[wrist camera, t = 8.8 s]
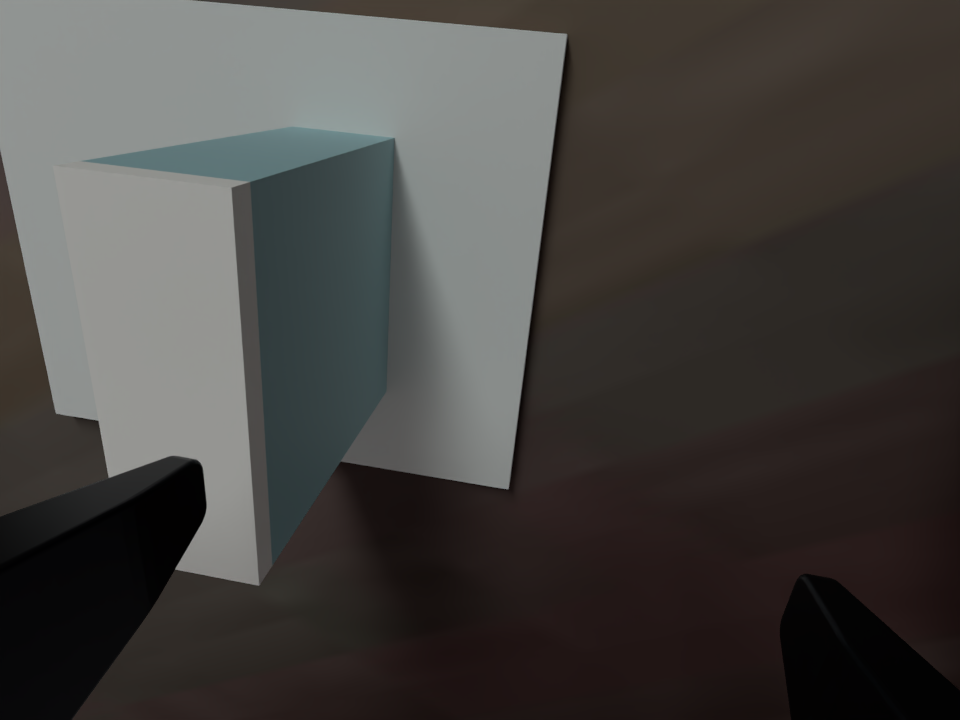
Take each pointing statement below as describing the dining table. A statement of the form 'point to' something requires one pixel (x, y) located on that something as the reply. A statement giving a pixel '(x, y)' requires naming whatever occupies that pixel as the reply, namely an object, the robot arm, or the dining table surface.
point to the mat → (326, 106)
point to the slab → (235, 318)
